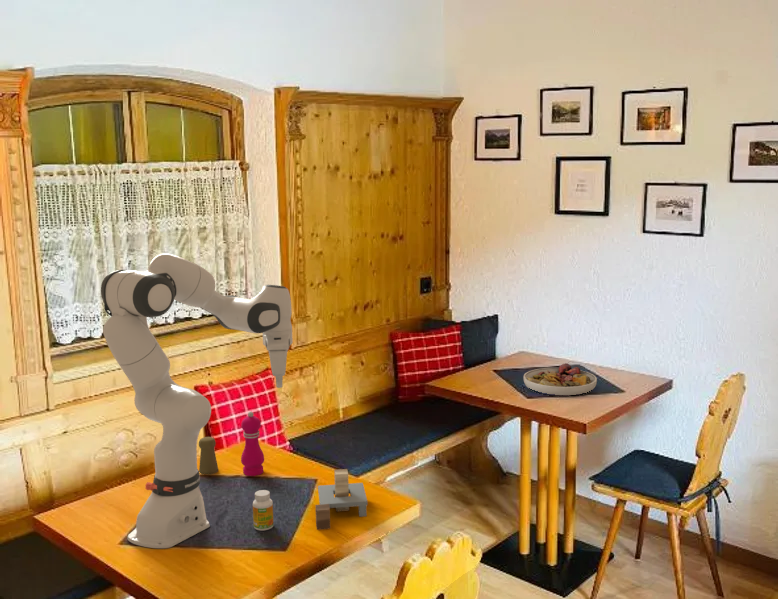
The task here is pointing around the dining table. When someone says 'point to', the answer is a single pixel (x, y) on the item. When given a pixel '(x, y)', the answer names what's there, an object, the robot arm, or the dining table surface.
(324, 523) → the walnut peg
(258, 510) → the supplement bottle
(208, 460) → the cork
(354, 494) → the collar stand
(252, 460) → the pepper mill
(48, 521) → the dining table surface
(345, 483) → the maple peg
